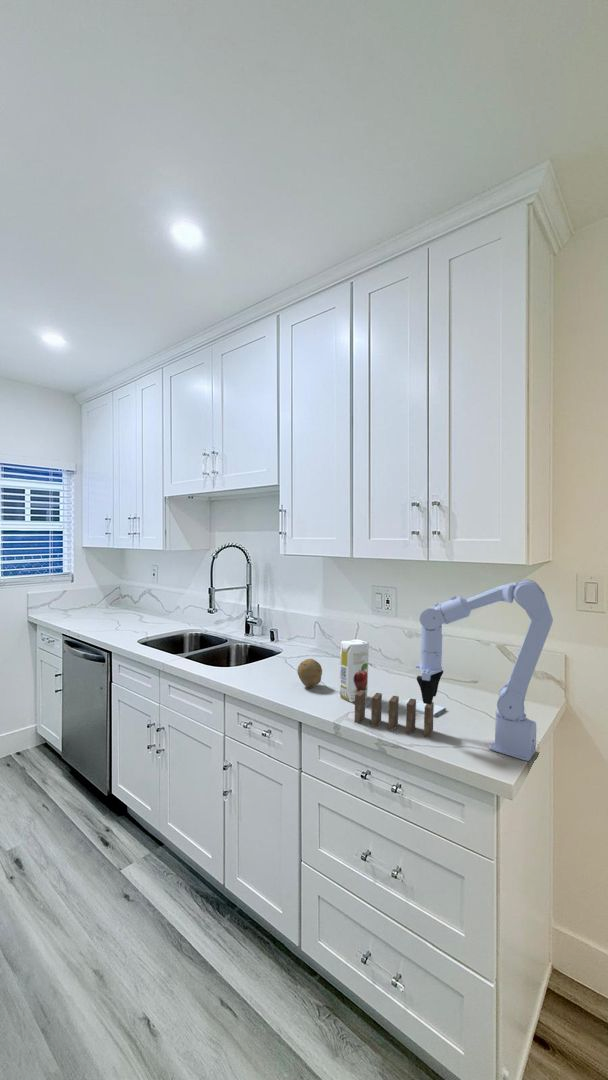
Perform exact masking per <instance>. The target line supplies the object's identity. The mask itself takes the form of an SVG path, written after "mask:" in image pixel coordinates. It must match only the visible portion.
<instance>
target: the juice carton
mask: <svg viewBox="0 0 608 1080" xmlns="http://www.w3.org/2000/svg"><path fill="white" fill-rule="evenodd" d="M369 644H370V643H369V642H367V641H365V640H361V639H352V640H341V642H340V656H339V658H340V659H339V660H340V662H339V665H340V666H339V697H340V698H341V699H343V700H345V701H347V702H349V703H355V695H356V694H357V693H358V692H359V691H360V690H364V691H366V694H365V700H367V699H368V690H369V689H368V687H369V685H368V683H369V659H370V658H369V656H370V655H369V651H370V650H369V649H370V647H369Z"/></svg>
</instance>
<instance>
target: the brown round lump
mask: <svg viewBox="0 0 608 1080" xmlns="http://www.w3.org/2000/svg"><path fill="white" fill-rule="evenodd" d="M297 675H298V678H299V680H300V682H301V683H302V684H303V685H304V686H305V687H306V688H311V689H312V688H313V687H314V686H317V685H319V684H320V683H321V682H322V681H321V680H322V675H323V669H322V665H321V664H320V662H318V661H317V660H316V659H314V658H307V659H304V660H302V661H301V662H300V664H299V665H298V666H297Z"/></svg>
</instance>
